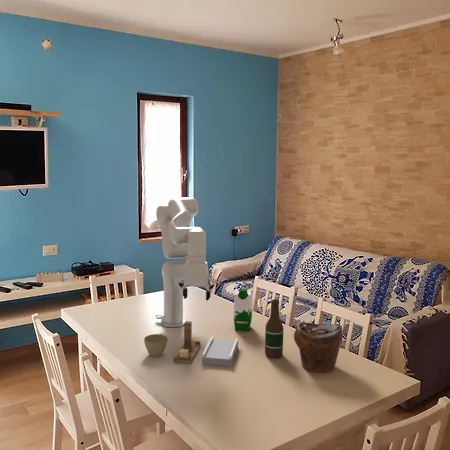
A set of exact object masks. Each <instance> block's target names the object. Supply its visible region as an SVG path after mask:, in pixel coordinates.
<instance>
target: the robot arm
mask: <svg viewBox="0 0 450 450" xmlns="http://www.w3.org/2000/svg"><path fill="white" fill-rule="evenodd" d="M155 211H156V212H155V213H156V215H155V216H156V222H157V223H158V225H159V226H158V227H159V228H160V232H161V242H162V251H163V256H164V258H166V259H168V260H169V259H171V260H172V259H173V261H168V262H165V263H164V264H163V265H162V267H161V275H162V280H163V313H162V314H161V313H156V314H155V318H156V320H160V325H161V326H163V327H167V328H180V327H184V323H185V321H187V320H186V319H185V318H184V300H185V299H187V298H188V291H189V290H188V287H192V288H193V287H194V288H205V290H206V291H205V301H209V300H210V298H211V297H212V296H211V290H212V289H213V288H215V286H216V284H217V283H218V280H217V279H215V278H213V277H211V276H210V275H209V274H210V273H209V266H208V262H207V261H206V260H207V259H206V258H207V257H206V254H207V252H206V249H207V247H206V246H207V243H206V242H207V241H206V240H207V239H206V237H207V233H206V231H205V230H203V228H202V227H200V226H189V225H190V224H191V222H192V220H193V219H194V217H196V216H197V215H198V213H199V203H198V201H197V200H196V199H195V197H175V198H172V199H170V200H169V201H168V203H166V204H161V205H159V206H158V207H157V208H156V210H155ZM174 259H177V260H174ZM178 259H184V260H178ZM182 281H183V282H182ZM210 282H211V283H212V284H211V285H210V284H209V283H210Z"/></svg>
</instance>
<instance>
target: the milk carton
mask: <svg viewBox="0 0 450 450" xmlns="http://www.w3.org/2000/svg"><path fill="white" fill-rule="evenodd" d="M252 294H253V293H252V291H251V290H248V289H246V288H240V289H238V290H235V293H234V301H233V323H234V324H233V325H234V331H238V332H239V331H240V332H241V331H243V332H250V329H251V324H252V320H253V295H252Z"/></svg>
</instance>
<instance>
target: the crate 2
mask: <svg viewBox="0 0 450 450" xmlns="http://www.w3.org/2000/svg"><path fill="white" fill-rule="evenodd" d="M195 341H196V337H192V347H194V346H195Z"/></svg>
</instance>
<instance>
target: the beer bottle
mask: <svg viewBox="0 0 450 450" xmlns="http://www.w3.org/2000/svg"><path fill="white" fill-rule="evenodd" d="M270 305H271V306H270V315H269V318H268V320H267V321H266V324H265V331H264V333H265V334H264V337H265V338H264V353H265V357H268V358H270V359H280V358H281V357H283V355H284V354H283V353H284V325H283V322H282V320H281V317H280V300H278V299H272V300H271V301H270Z"/></svg>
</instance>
